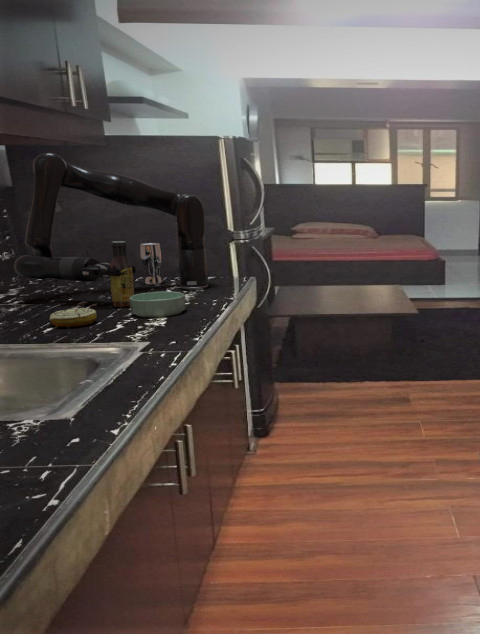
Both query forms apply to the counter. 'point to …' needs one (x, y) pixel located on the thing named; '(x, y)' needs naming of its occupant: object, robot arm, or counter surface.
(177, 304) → the bowl
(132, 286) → the sauce bottle
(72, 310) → the decorated donut
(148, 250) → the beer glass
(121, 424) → the counter surface
